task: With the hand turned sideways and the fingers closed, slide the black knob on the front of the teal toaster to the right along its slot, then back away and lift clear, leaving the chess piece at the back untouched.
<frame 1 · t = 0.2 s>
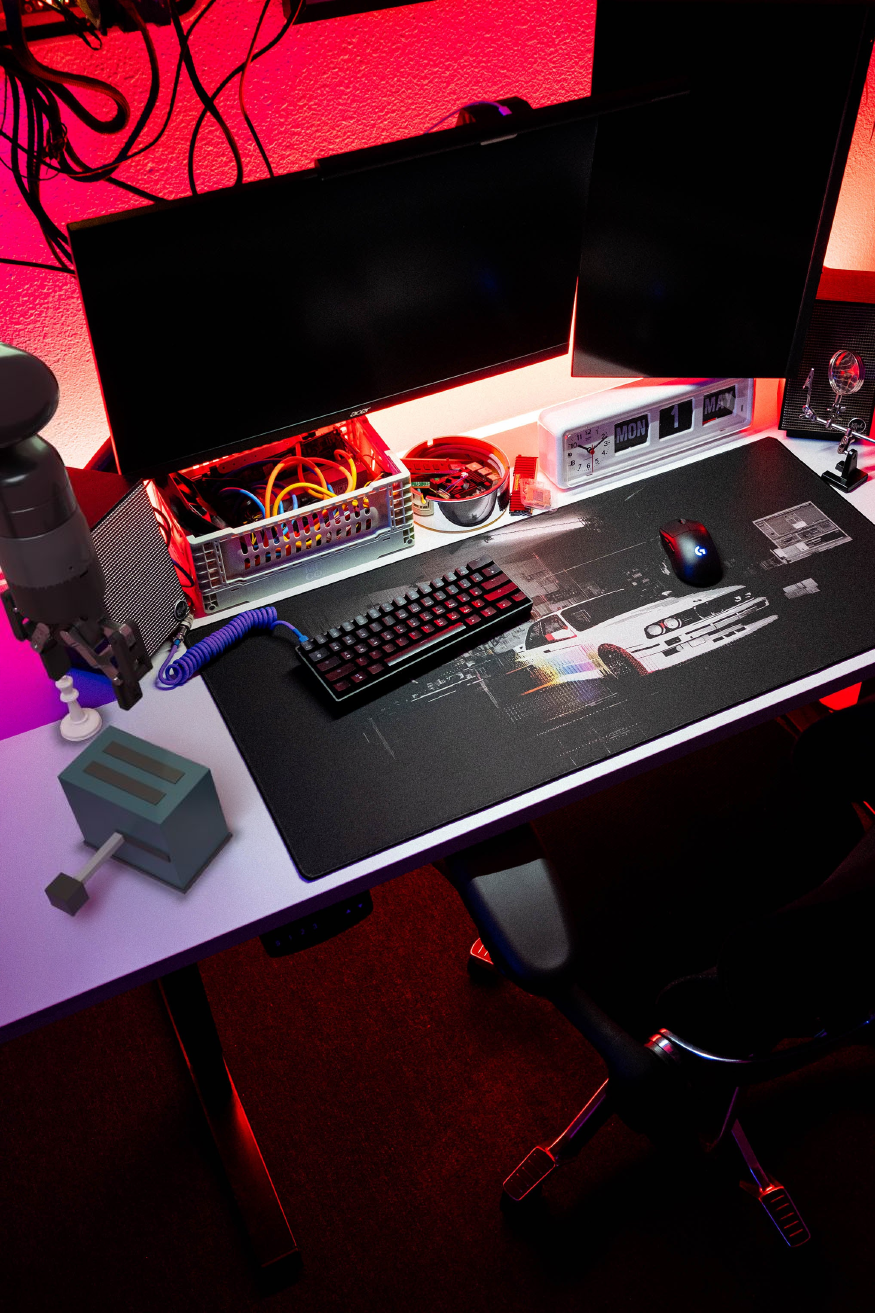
hand: (96, 689, 105), 30 cm above the table, tool pointing down, fingers open, 8 cm apart
slider: (90, 869, 118), point 6 cm above the table, slide at 0.0 cm
toaster: (158, 840, 127), on the table
chess piece: (82, 727, 141), on the table
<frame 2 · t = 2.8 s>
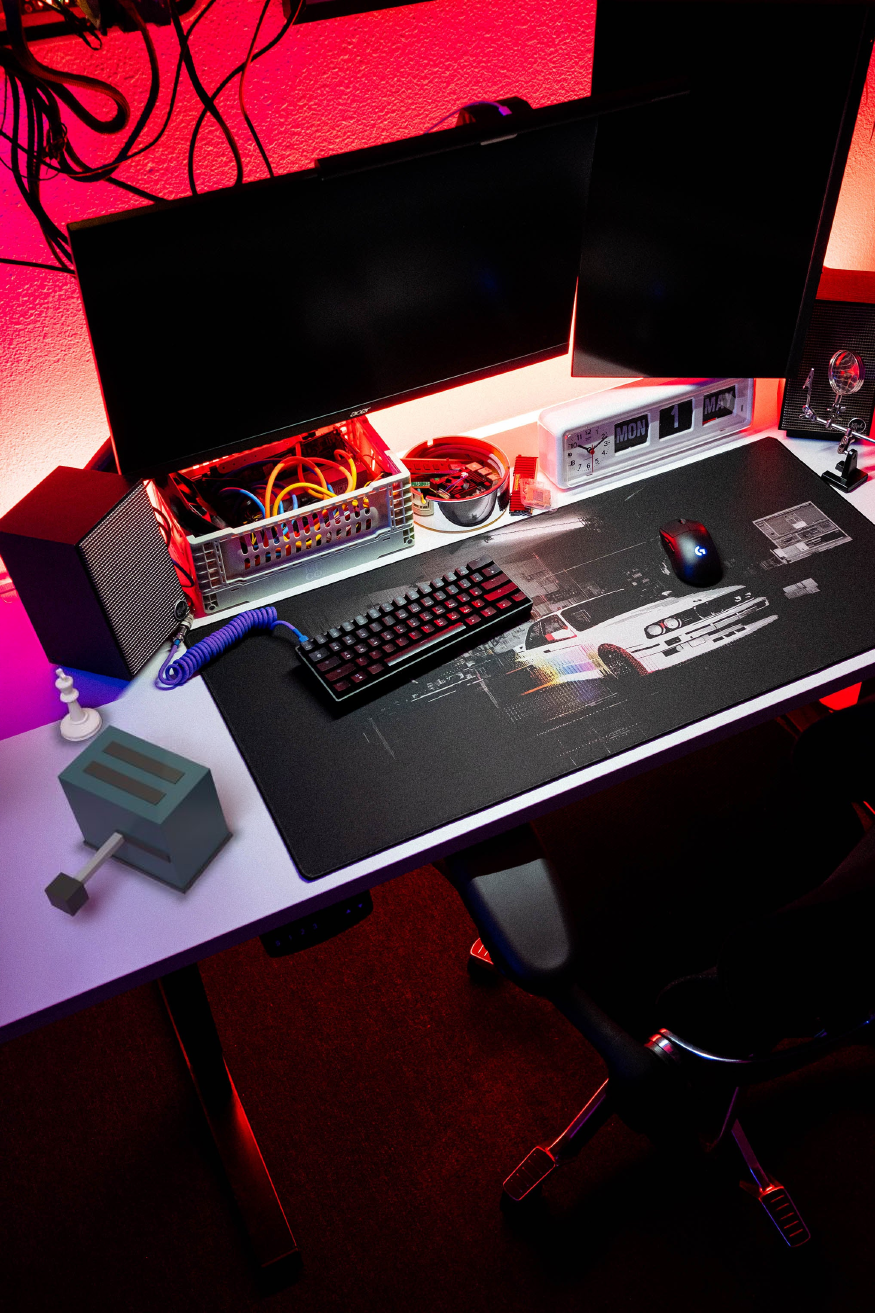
nothing on the table moved.
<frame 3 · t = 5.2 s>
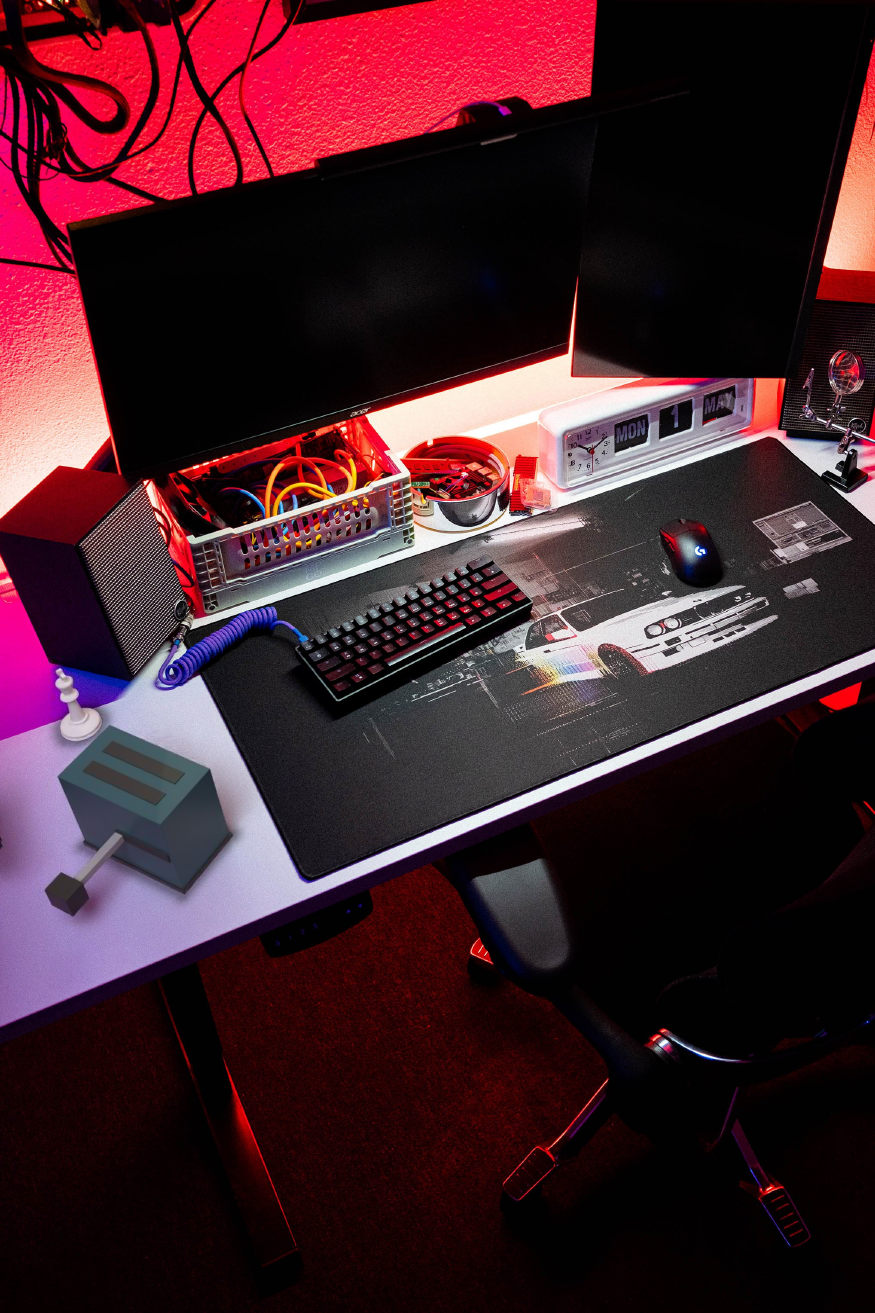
nothing on the table moved.
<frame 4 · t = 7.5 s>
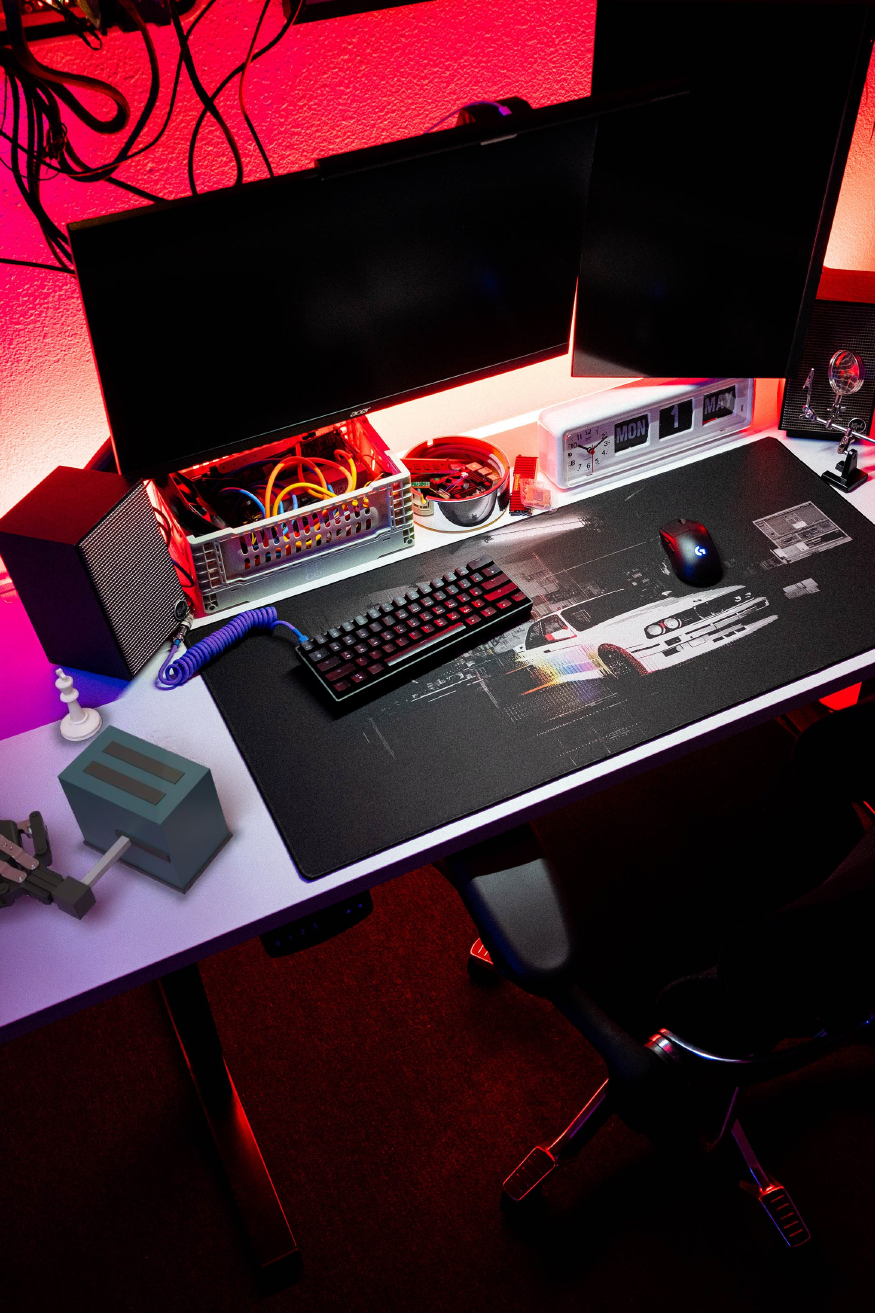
hand: (61, 893, 115), 6 cm above the table, tool horizontal, fingers closed
slider: (97, 872, 117), point 6 cm above the table, slide at 1.0 cm, touching gripper
everything else where it was.
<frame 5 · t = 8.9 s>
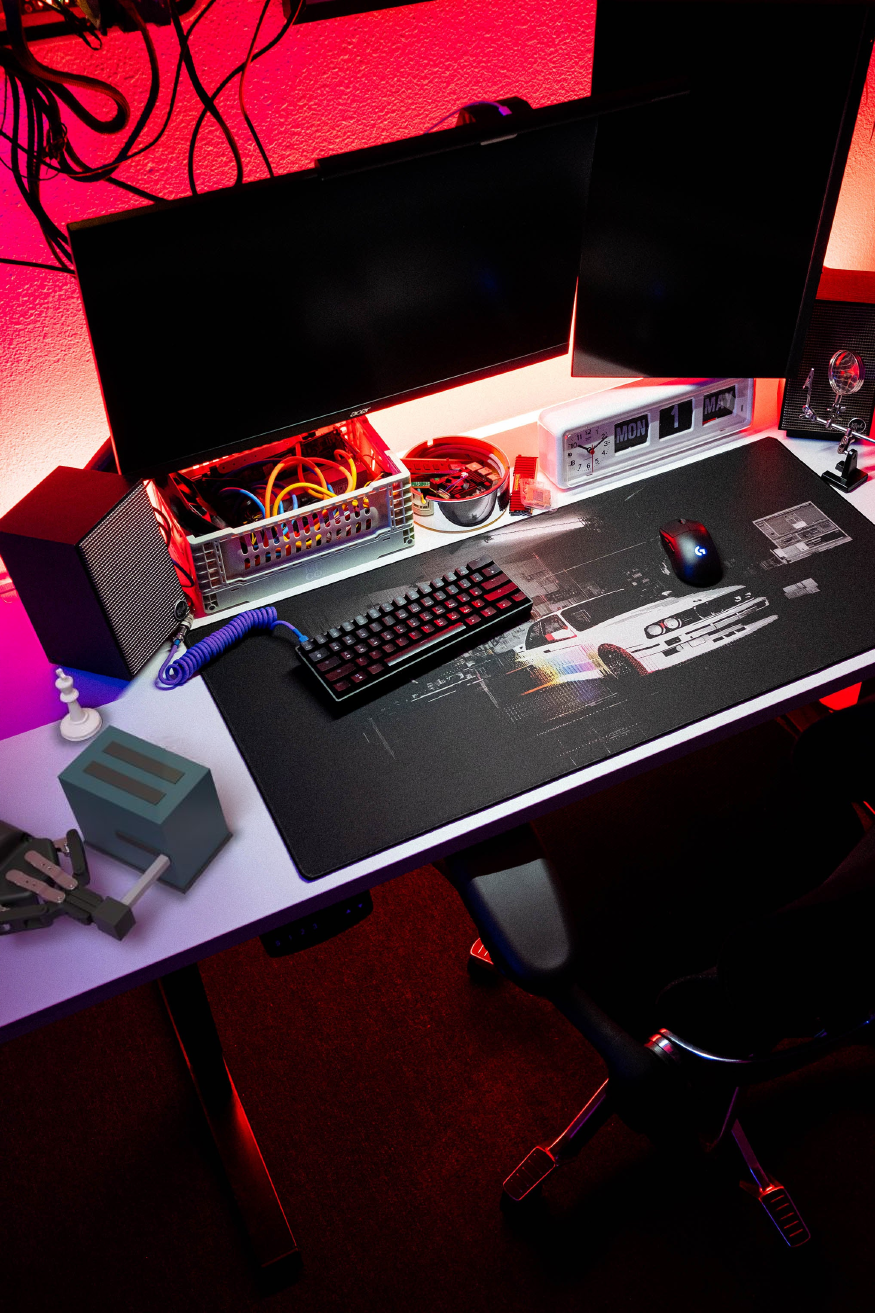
hand: (101, 914, 114), 6 cm above the table, tool horizontal, fingers closed
slider: (136, 892, 115), point 6 cm above the table, slide at 6.3 cm, touching gripper
everything else where it was.
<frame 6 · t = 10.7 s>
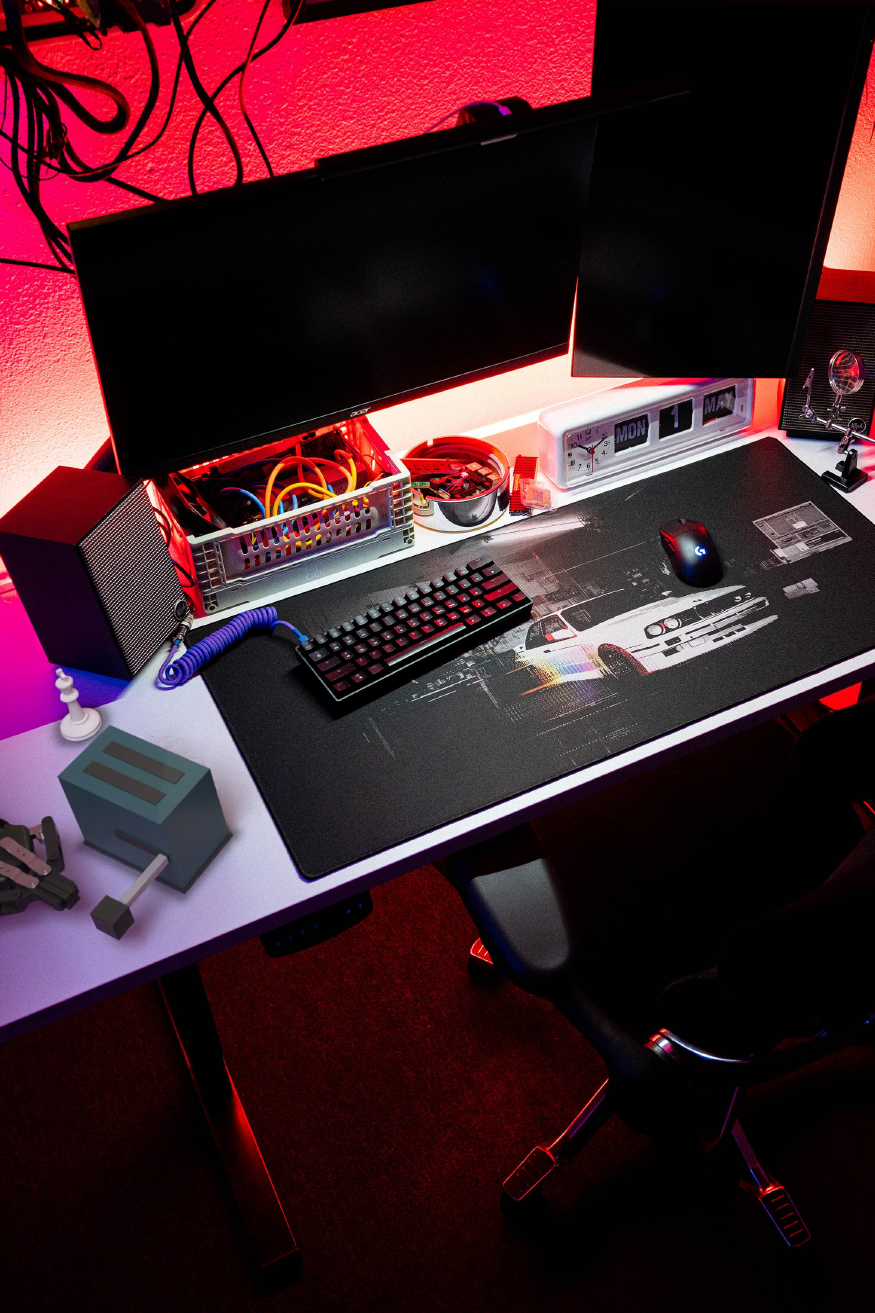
hand: (73, 900, 115), 6 cm above the table, tool horizontal, fingers closed
slider: (135, 891, 116), point 6 cm above the table, slide at 6.1 cm
everything else where it was.
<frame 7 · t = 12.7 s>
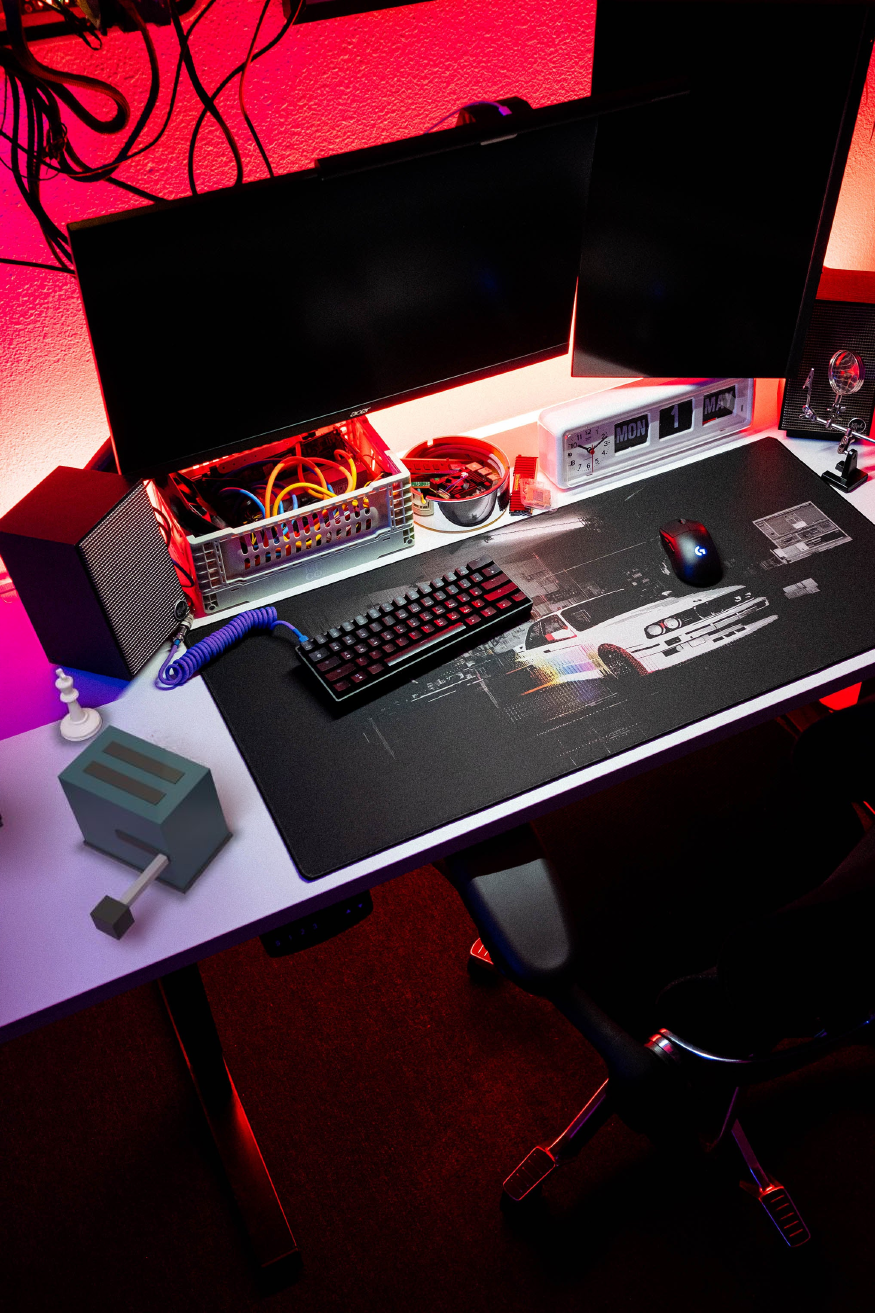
nothing on the table moved.
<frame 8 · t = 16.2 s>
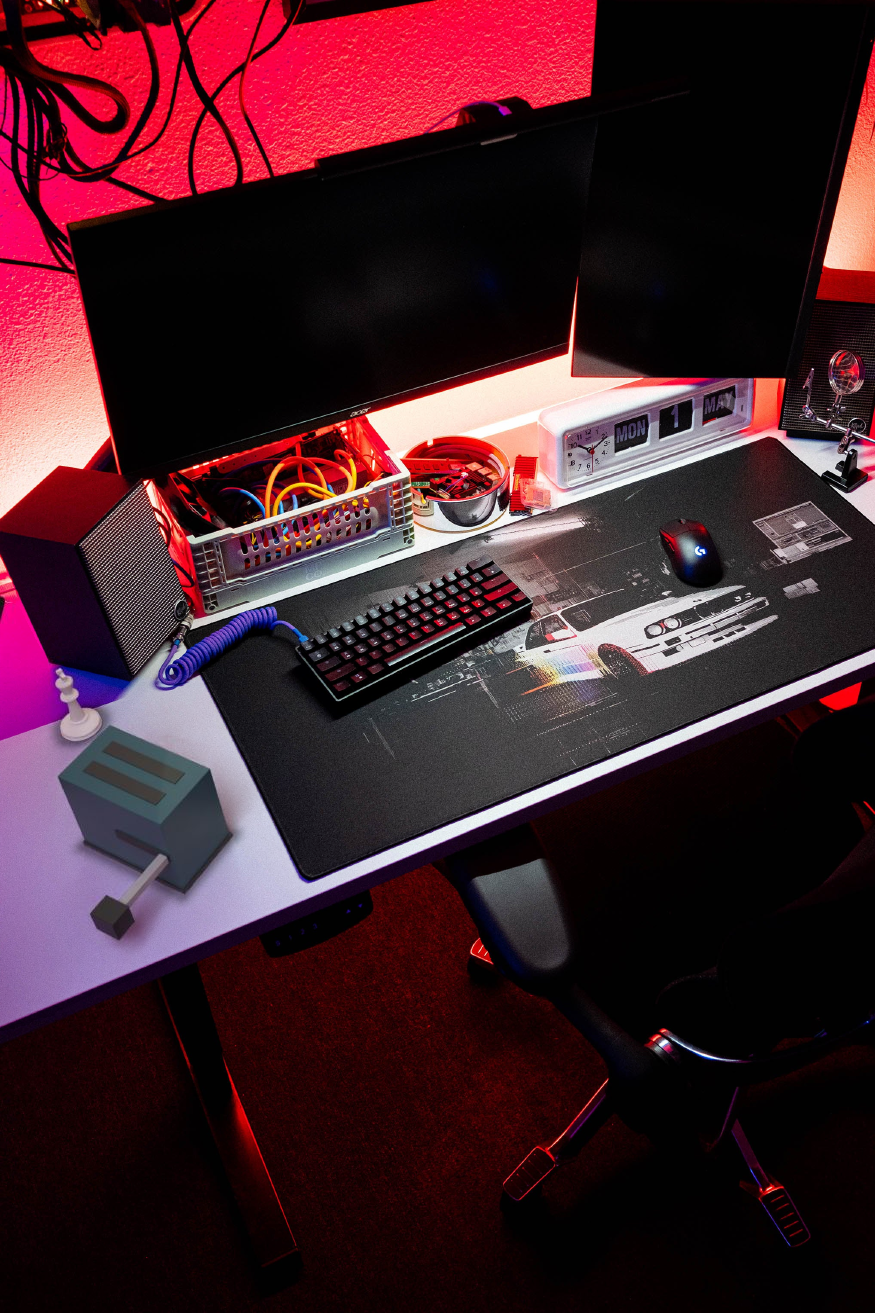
nothing on the table moved.
at the end: slider slide at 6.1 cm; chess piece moved 0.2 cm from its start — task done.
